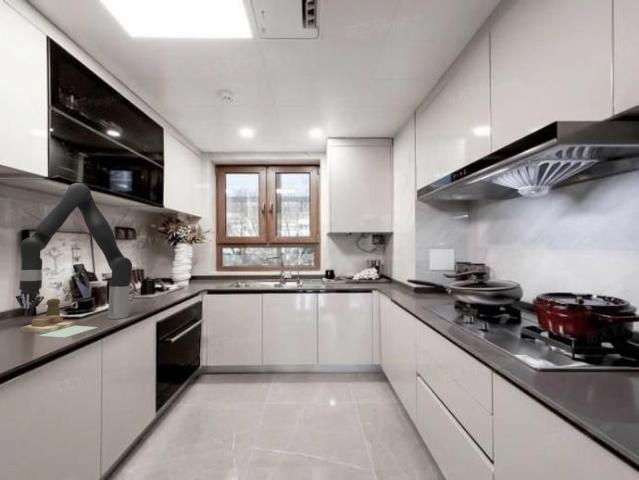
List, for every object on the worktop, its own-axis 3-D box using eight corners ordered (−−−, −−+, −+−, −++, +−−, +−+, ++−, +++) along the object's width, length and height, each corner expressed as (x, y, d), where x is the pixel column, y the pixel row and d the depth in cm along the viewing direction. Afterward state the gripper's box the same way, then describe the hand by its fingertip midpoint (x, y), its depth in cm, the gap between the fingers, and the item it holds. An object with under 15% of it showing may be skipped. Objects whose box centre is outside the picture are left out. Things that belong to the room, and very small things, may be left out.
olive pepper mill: (63, 319, 152) (64, 298, 153) (51, 322, 146) (52, 300, 147) (53, 318, 153) (54, 297, 153) (41, 321, 147) (42, 299, 147)
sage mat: (74, 326, 140) (74, 325, 140) (97, 327, 139) (97, 327, 139) (38, 336, 124) (38, 335, 124) (64, 338, 123) (64, 337, 123)
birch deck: (50, 324, 143) (50, 320, 143) (75, 325, 141) (75, 321, 141) (20, 331, 130) (20, 327, 130) (47, 333, 128) (47, 329, 128)
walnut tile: (51, 321, 141) (52, 315, 141) (62, 322, 140) (63, 315, 140) (31, 326, 132) (31, 319, 132) (42, 327, 131) (43, 320, 131)
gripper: (51, 279, 140) (49, 315, 140) (27, 277, 142) (25, 313, 141) (34, 280, 133) (32, 318, 132) (9, 279, 134) (7, 317, 134)
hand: (28, 316), depth 137 cm, fingers closed
